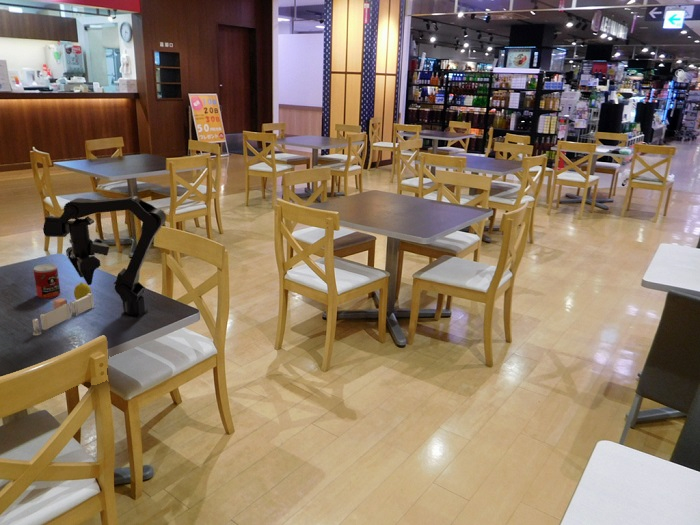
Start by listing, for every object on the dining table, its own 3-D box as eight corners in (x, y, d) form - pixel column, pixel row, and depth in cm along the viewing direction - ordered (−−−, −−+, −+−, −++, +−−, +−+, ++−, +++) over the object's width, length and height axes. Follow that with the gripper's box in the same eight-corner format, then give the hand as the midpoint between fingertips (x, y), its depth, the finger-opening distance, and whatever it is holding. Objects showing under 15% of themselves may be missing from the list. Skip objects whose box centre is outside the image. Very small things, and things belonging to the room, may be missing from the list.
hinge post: (77, 315, 187) (75, 302, 186) (73, 317, 186) (72, 303, 184) (73, 314, 188) (72, 301, 186) (70, 316, 186) (68, 303, 185)
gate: (67, 316, 185) (65, 303, 183) (70, 317, 185) (69, 304, 183) (41, 328, 175) (39, 315, 174) (45, 329, 175) (43, 316, 174)
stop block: (67, 307, 193) (66, 299, 192) (60, 310, 191) (59, 302, 190) (60, 305, 194) (59, 298, 193) (54, 308, 192) (53, 301, 191)
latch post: (43, 333, 174) (41, 318, 172) (37, 336, 172) (35, 321, 170) (37, 331, 175) (35, 317, 173) (31, 334, 172) (29, 320, 171)
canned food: (43, 300, 198) (39, 272, 194) (33, 295, 202) (29, 267, 199) (64, 295, 204) (61, 267, 200) (54, 289, 208) (50, 262, 205)
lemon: (72, 304, 196) (69, 283, 194) (85, 299, 201) (83, 279, 198) (82, 307, 194) (79, 286, 191) (95, 302, 198) (93, 282, 196)
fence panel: (94, 307, 194) (92, 294, 193) (79, 314, 188) (77, 300, 186) (90, 306, 195) (88, 293, 193) (75, 314, 188) (73, 300, 187)
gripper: (114, 239, 179) (119, 284, 184) (97, 227, 193) (102, 269, 198) (77, 245, 173) (83, 291, 178) (62, 232, 186) (68, 275, 191)
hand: (85, 280), depth 186 cm, fingers open, 9 cm apart
